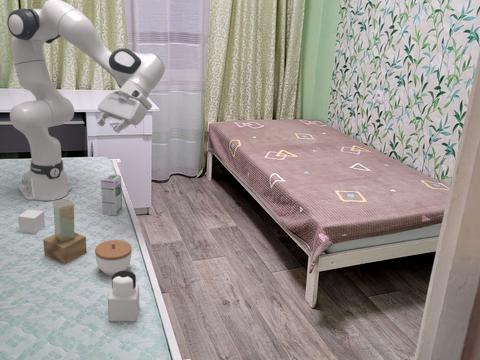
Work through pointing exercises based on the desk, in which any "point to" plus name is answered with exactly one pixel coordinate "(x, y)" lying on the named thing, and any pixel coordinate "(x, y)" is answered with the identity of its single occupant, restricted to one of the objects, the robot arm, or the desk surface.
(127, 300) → the medicine bottle
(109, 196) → the syrup box
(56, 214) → the tea tin
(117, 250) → the lidded jar
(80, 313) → the desk surface
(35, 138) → the robot arm
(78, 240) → the walnut block
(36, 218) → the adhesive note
